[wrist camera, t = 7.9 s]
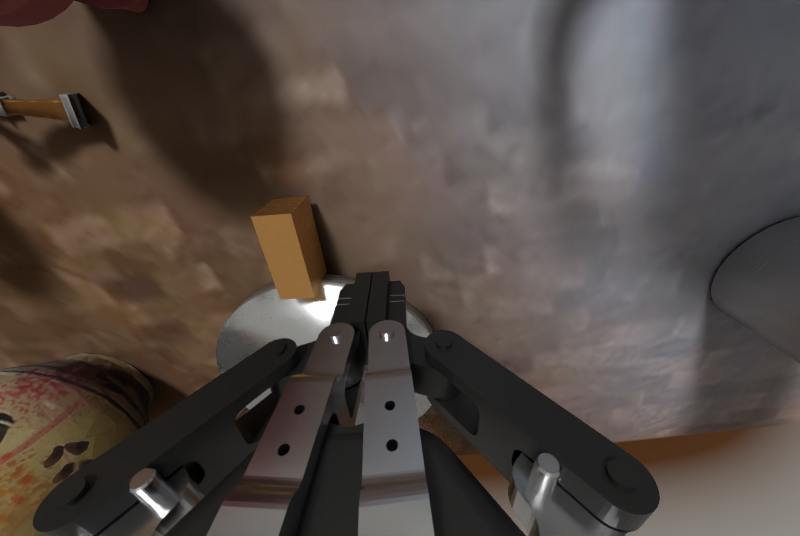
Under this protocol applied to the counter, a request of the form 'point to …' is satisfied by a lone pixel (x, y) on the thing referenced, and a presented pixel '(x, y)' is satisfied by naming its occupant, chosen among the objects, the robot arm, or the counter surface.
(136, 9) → the mechanical component
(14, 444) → the ceramic jug
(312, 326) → the frying pan
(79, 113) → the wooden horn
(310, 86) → the counter surface
